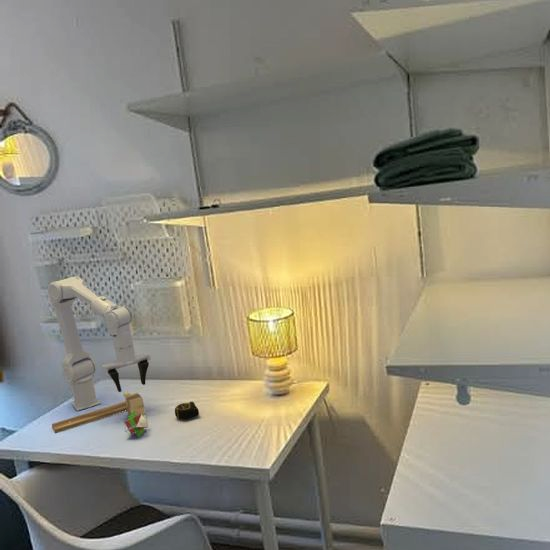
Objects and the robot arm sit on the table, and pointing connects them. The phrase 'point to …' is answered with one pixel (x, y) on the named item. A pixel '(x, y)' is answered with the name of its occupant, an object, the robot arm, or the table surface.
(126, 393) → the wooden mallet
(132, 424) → the geometric puzzle
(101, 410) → the brown wooden flat strip
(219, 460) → the table surface
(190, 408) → the tape measure
